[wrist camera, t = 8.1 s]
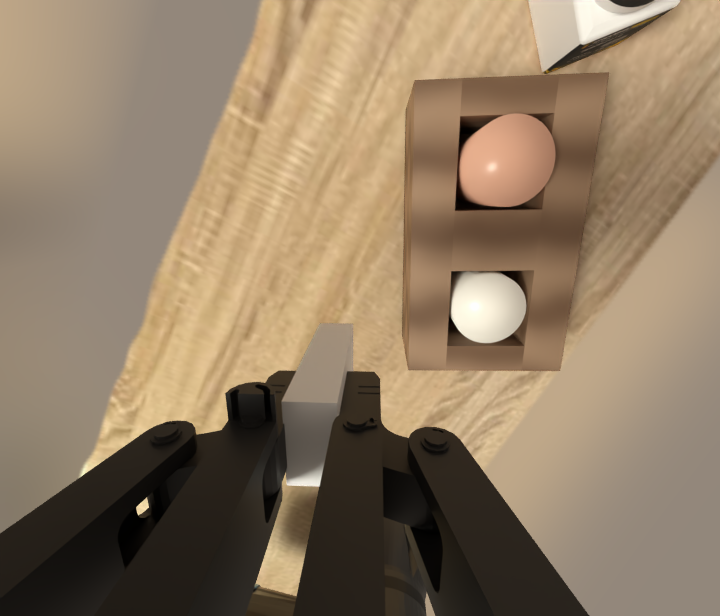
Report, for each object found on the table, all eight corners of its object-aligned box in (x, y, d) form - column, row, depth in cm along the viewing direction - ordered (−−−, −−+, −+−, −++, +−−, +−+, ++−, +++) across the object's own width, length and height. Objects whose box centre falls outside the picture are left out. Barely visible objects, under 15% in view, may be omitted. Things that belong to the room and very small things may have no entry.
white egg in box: (494, 315, 39) (521, 343, 32) (436, 315, 40) (450, 343, 32) (499, 258, 37) (530, 273, 30) (439, 259, 38) (454, 274, 30)
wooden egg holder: (521, 335, 41) (560, 370, 32) (402, 335, 42) (408, 370, 33) (550, 104, 34) (609, 72, 25) (405, 109, 35) (414, 80, 26)
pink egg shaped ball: (510, 204, 34) (549, 206, 27) (444, 206, 35) (463, 207, 27) (518, 132, 32) (561, 111, 25) (448, 134, 33) (469, 115, 25)
